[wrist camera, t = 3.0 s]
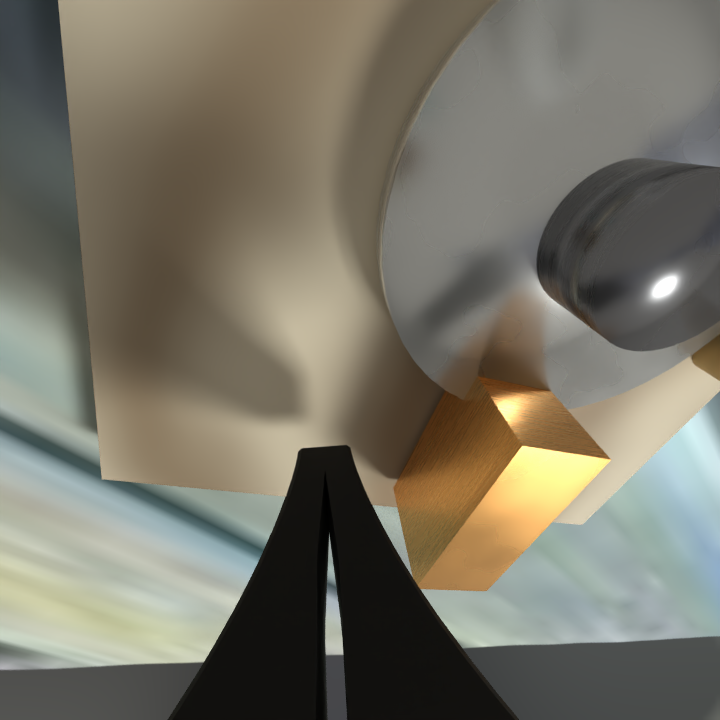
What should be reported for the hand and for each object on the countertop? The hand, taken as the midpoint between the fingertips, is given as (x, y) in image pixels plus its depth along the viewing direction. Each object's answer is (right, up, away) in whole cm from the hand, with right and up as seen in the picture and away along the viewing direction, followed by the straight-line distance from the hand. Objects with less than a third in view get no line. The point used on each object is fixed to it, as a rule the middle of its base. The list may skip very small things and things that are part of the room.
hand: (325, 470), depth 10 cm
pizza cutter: (+6, +4, 0) cm, 7 cm away
